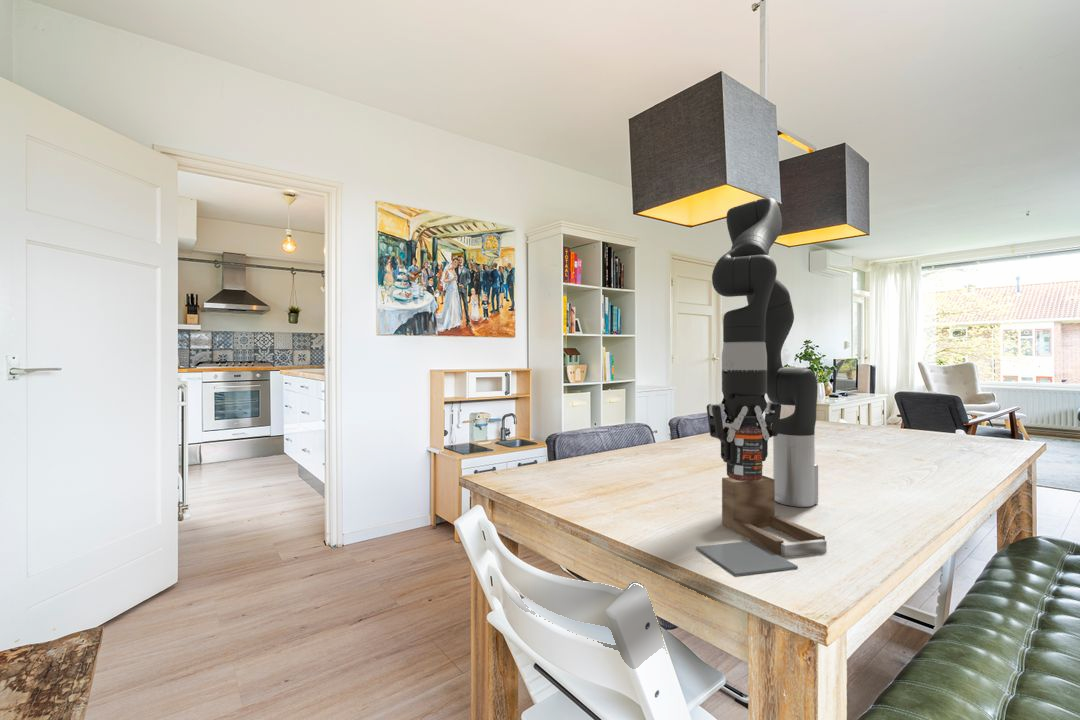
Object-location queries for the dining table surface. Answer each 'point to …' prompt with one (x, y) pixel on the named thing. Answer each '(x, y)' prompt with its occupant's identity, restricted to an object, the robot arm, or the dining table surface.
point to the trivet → (745, 558)
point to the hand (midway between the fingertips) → (744, 461)
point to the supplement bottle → (747, 452)
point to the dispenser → (764, 518)
